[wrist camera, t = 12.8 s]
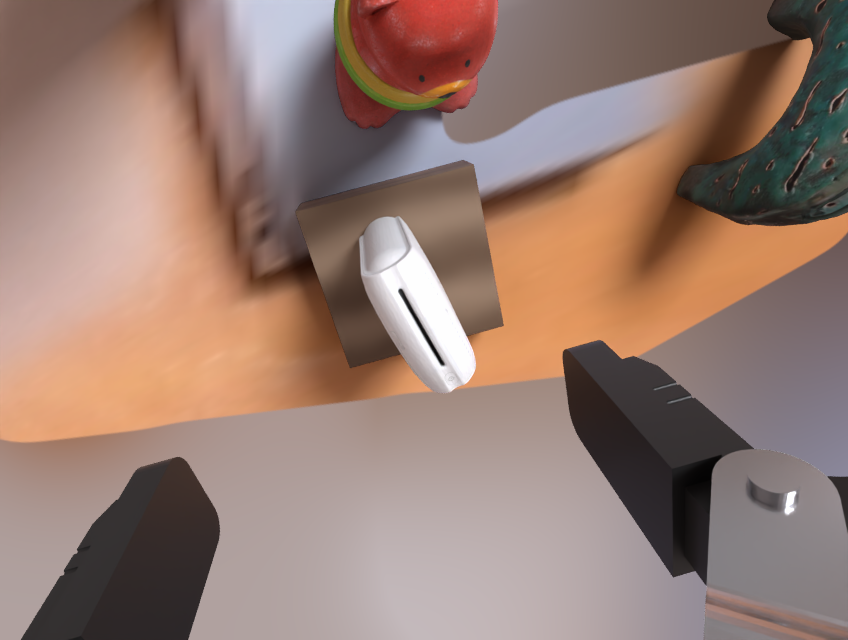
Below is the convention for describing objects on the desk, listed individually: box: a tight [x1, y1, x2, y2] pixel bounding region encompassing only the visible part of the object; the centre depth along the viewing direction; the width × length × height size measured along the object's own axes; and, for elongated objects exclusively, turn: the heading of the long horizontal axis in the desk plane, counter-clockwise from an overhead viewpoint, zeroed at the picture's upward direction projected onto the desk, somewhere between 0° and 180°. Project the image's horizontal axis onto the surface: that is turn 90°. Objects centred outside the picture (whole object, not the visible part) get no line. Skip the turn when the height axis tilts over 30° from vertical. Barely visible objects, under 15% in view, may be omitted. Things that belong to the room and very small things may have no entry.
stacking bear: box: [334, 0, 498, 129], centre depth 28 cm, size 11×10×18 cm
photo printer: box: [359, 216, 476, 393], centre depth 33 cm, size 10×4×12 cm, turn 27°
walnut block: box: [295, 160, 504, 368], centre depth 41 cm, size 14×14×4 cm
